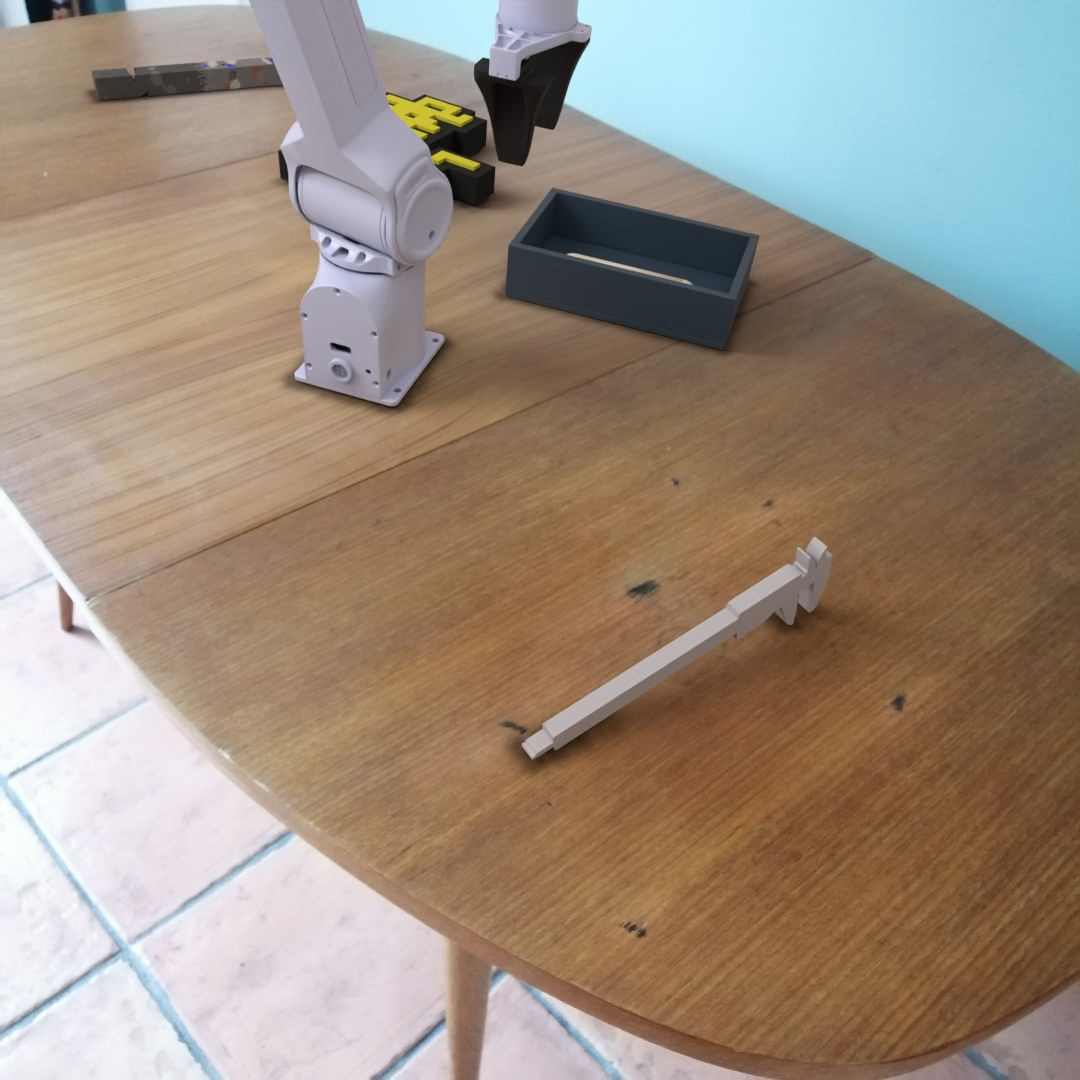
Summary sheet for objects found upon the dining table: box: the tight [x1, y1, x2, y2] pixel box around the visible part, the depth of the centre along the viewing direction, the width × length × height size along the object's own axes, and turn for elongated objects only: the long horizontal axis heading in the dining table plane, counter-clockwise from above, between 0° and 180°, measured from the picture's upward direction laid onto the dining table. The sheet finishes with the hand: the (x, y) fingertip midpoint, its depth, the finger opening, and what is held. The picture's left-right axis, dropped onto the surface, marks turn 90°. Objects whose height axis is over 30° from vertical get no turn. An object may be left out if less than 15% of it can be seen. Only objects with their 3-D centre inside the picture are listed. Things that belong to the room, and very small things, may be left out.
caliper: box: [521, 536, 833, 760], centre depth 54 cm, size 20×1×6 cm, turn 124°
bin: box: [504, 187, 760, 351], centre depth 84 cm, size 11×18×5 cm, turn 72°
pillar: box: [90, 56, 283, 101], centre depth 107 cm, size 2×2×20 cm
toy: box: [277, 91, 497, 206], centre depth 97 cm, size 18×3×20 cm
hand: (527, 143), depth 80 cm, fingers open, 7 cm apart
